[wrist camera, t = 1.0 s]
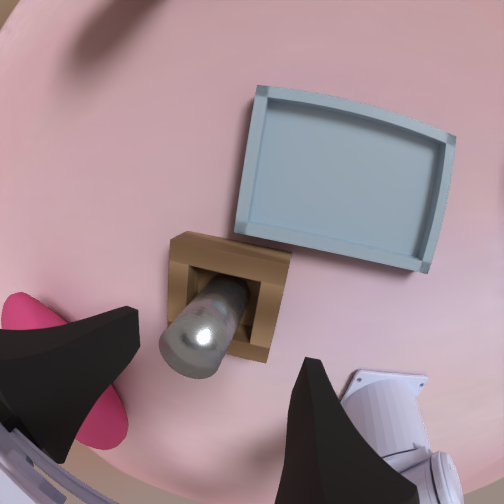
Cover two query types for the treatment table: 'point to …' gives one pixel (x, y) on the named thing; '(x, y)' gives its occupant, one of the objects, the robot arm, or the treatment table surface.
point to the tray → (344, 178)
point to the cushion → (108, 405)
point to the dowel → (205, 327)
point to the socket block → (237, 264)
